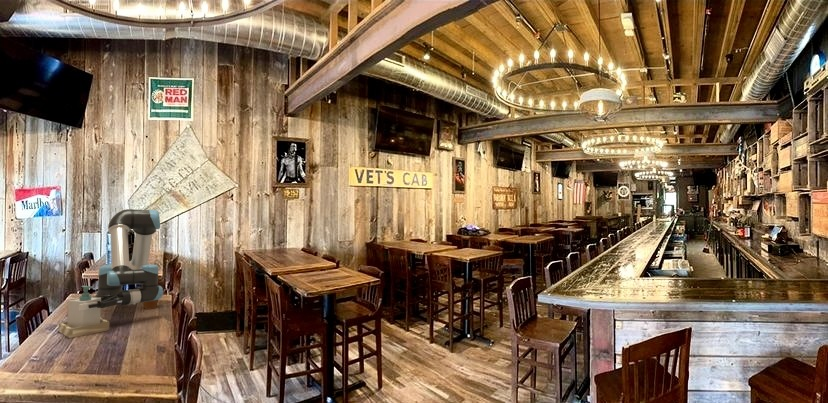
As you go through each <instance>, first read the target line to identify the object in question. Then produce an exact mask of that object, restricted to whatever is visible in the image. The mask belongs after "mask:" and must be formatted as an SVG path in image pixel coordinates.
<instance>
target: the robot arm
mask: <svg viewBox="0 0 828 403" xmlns="http://www.w3.org/2000/svg"><path fill="white" fill-rule="evenodd" d="M160 219H161V218H160V212H159V211H158V209H151V208H150V209H133V208H131V209H130V208H129V209H127V208H126V209H123V210H120V211H118V212H117V213H115V214H114V216H112V218H111V219H110V221H109V222H108V227H107V229H108V231H107V232H108V233H109V234H110V253H111V254H110V257H111V263H109V264H105V265H101V266H100V267H99V270H98V274H97V275H98V283H97V292H96V294H95V295H94V296H92V295H91V297H98V298H101V302H100V301H97V302H93V303H86V304H79V311H80V310H86V309H93V308H101V309H104V308H108V307H112V306H116V305H117V306H118V305H119V306H121V307H123V306H128V305H136V304H139V303H140V304H141V303H143V302H147V301H154V300H158V301H159V300H160V299H162V298H163V296H164V288H163V287H162V285H159V274H160V273H159V266H158V264H152V263H151V261H150V252H151V245H152V240H153V235H154V234H155V233H156V231H157V230H160V229H161V220H160ZM130 230H132V231H133V233H134V234H135V235H134V242H133V248H132V249H133V250H132V255H131V256H132V257H131V260H130V255H129V254H130V253H129V232H130ZM124 285H125V286H126V285H140V288H133V289H126V290H123V286H124Z"/></svg>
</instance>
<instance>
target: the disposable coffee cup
mask: <svg viewBox="0 0 828 403" xmlns="http://www.w3.org/2000/svg"><path fill="white" fill-rule="evenodd" d="M142 303H143V309H144V308H145V310H151V309H150V308H153V309H156V308H157V307H158V303H159V299H158V300H154V301H147V302H142ZM155 307H156V308H155Z"/></svg>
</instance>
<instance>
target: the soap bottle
mask: <svg viewBox="0 0 828 403" xmlns="http://www.w3.org/2000/svg"><path fill="white" fill-rule="evenodd" d="M81 288H82V290H83V293H81V296H79V297H77V298H74V299H73V298H72V299H69V300H68V310H67V313H68V315H67V321H68V326H69V327H70V328H77V327H82V326H87V325H93V324H98V323H100V318H101V312H102V308H93V309H86V310H80V311H79V304H86V303H93V302H97V301H100V302H101V298H98V297H92V295H90V292H88V291H89V289H95V287H94V286H89V285H81Z"/></svg>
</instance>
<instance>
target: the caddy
mask: <svg viewBox="0 0 828 403" xmlns="http://www.w3.org/2000/svg"><path fill="white" fill-rule="evenodd" d="M57 330H58V333H61V335H64V336H65V337H67V339H68V338H69V339H73V338H77V337H83V336H87V335H92V334H97V333H102V332H107V331H110V321H109V320H107V319H104V318H102V317H100V323H98V324H93V325H87V326H82V327H77V328H70V327H69V326H68V320H66V321H63V322H59V323H58V329H57Z"/></svg>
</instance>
